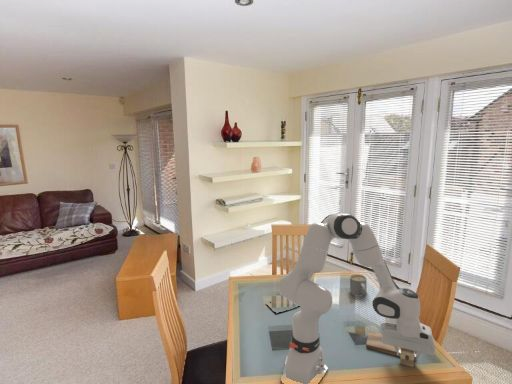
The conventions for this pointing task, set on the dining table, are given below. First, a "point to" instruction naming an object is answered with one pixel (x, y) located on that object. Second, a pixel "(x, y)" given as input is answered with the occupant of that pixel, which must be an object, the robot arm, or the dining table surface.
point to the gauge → (407, 357)
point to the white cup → (390, 320)
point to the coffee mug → (358, 285)
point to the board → (379, 344)
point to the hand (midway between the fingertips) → (407, 356)
